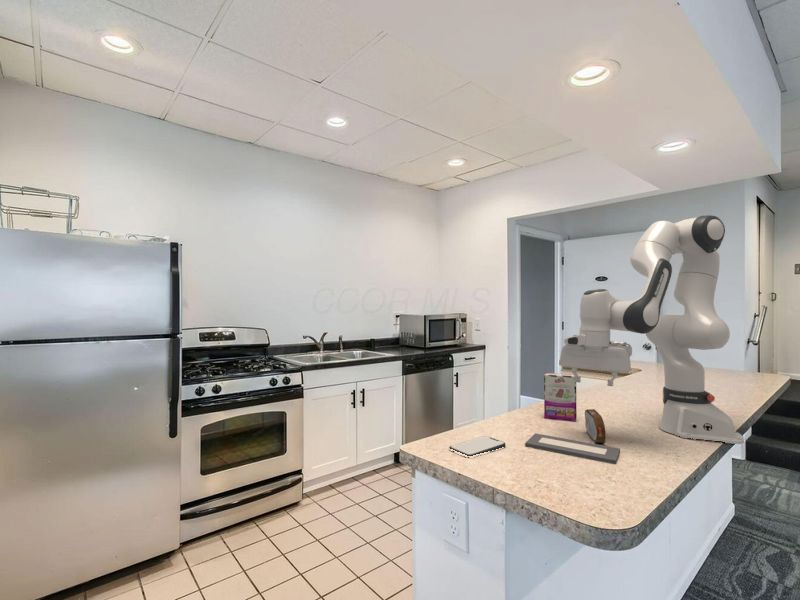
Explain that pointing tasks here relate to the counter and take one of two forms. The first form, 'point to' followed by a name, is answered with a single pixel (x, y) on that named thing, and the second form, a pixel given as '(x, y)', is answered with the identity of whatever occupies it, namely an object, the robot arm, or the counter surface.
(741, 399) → the counter surface
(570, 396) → the candy bar box
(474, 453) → the phone case
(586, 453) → the dark gray picture frame
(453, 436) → the counter surface
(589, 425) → the tin
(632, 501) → the counter surface
